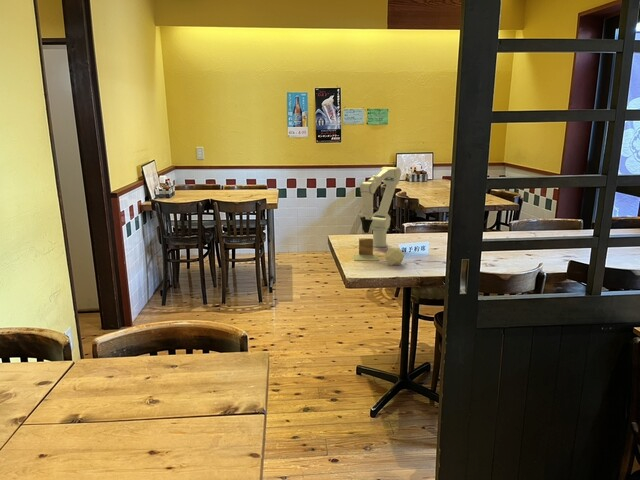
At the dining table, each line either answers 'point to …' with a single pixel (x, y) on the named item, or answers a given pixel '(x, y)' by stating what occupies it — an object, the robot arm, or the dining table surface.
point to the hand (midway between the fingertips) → (365, 231)
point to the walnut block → (365, 246)
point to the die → (394, 256)
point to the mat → (366, 258)
